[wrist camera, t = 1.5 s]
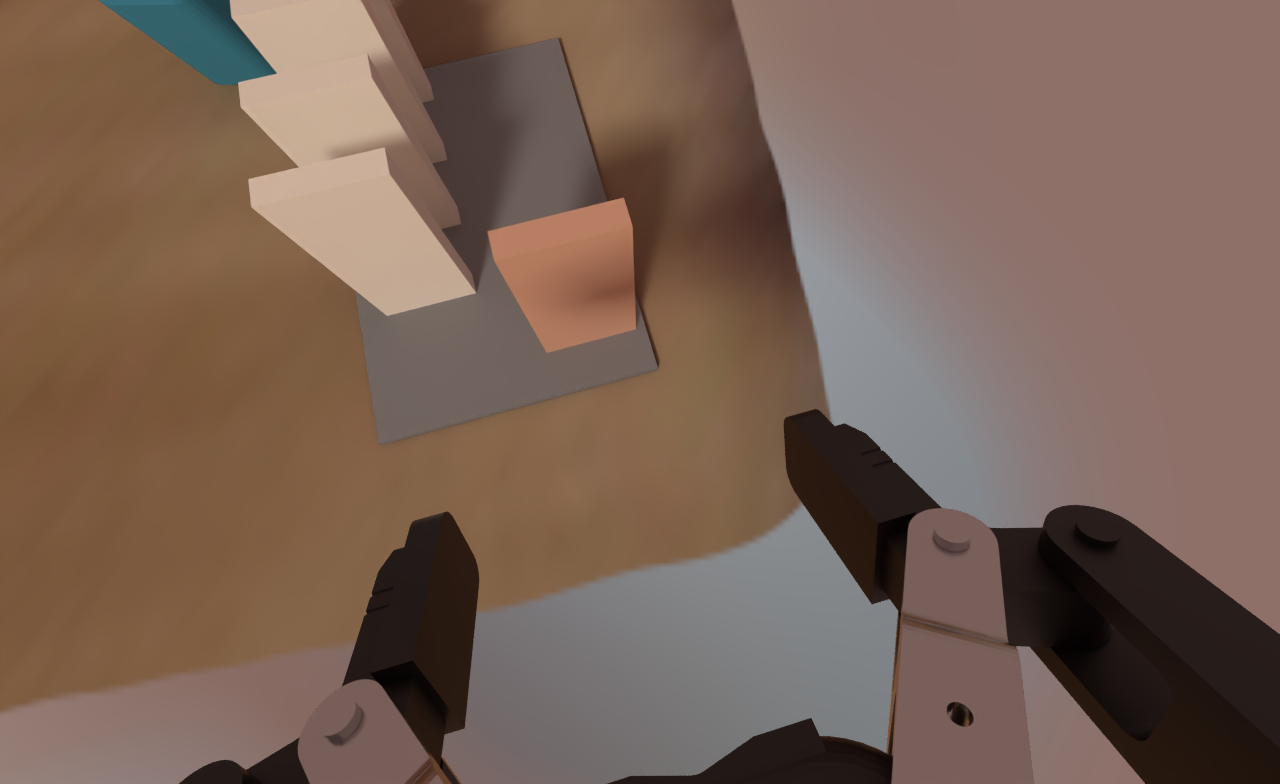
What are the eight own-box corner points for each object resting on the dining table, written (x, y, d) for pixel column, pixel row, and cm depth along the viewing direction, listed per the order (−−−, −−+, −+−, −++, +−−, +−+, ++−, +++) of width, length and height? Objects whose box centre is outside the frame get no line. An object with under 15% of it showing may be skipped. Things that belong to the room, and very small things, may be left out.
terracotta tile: (636, 329, 28) (632, 225, 18) (546, 353, 27) (494, 260, 18) (630, 309, 28) (623, 197, 18) (541, 332, 28) (487, 231, 18)
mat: (657, 369, 28) (657, 367, 27) (382, 444, 27) (378, 443, 26) (558, 43, 33) (557, 37, 33) (327, 95, 32) (324, 90, 32)
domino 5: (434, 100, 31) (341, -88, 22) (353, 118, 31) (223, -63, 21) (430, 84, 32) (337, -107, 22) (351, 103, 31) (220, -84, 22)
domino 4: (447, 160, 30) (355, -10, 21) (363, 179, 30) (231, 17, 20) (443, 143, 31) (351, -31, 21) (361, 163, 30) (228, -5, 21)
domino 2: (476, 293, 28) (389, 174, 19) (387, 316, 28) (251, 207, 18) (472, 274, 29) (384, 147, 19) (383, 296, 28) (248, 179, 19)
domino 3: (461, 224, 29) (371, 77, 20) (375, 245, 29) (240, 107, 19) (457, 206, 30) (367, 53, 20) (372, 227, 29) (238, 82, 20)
